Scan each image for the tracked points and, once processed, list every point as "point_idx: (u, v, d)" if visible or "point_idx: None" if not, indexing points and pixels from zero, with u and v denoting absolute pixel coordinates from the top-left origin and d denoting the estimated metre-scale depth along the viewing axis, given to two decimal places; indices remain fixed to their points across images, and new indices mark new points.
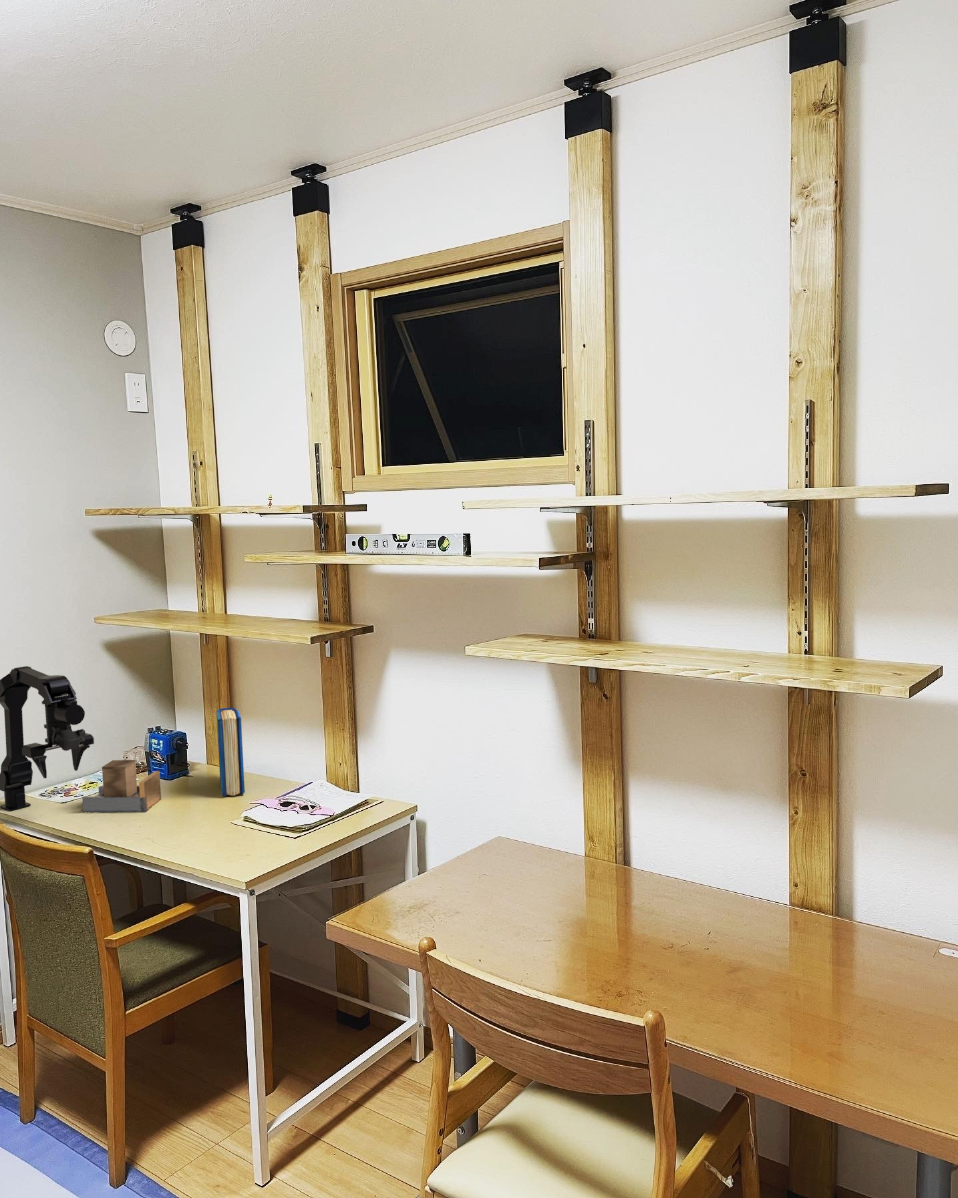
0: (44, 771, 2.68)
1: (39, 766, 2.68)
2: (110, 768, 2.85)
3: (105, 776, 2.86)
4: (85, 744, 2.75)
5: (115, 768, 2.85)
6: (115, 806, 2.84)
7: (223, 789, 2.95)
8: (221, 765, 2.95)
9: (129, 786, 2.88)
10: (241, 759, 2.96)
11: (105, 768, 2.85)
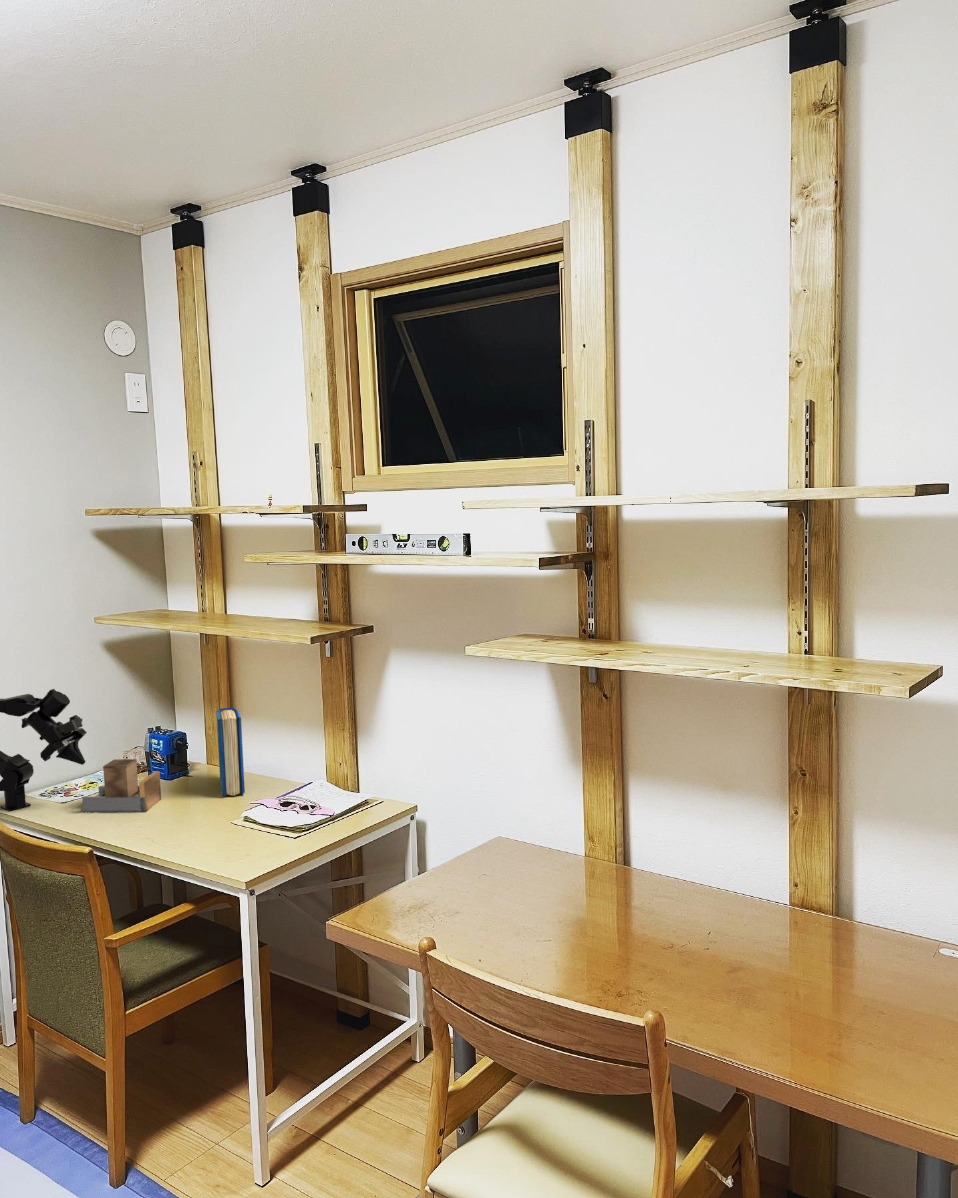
0: (79, 756, 2.88)
1: (72, 757, 2.88)
2: (111, 767, 2.86)
3: (106, 775, 2.86)
4: (82, 733, 2.95)
5: (116, 767, 2.86)
6: (115, 806, 2.84)
7: (223, 789, 2.95)
8: (221, 765, 2.95)
9: (130, 785, 2.89)
10: (241, 759, 2.96)
11: (106, 767, 2.86)
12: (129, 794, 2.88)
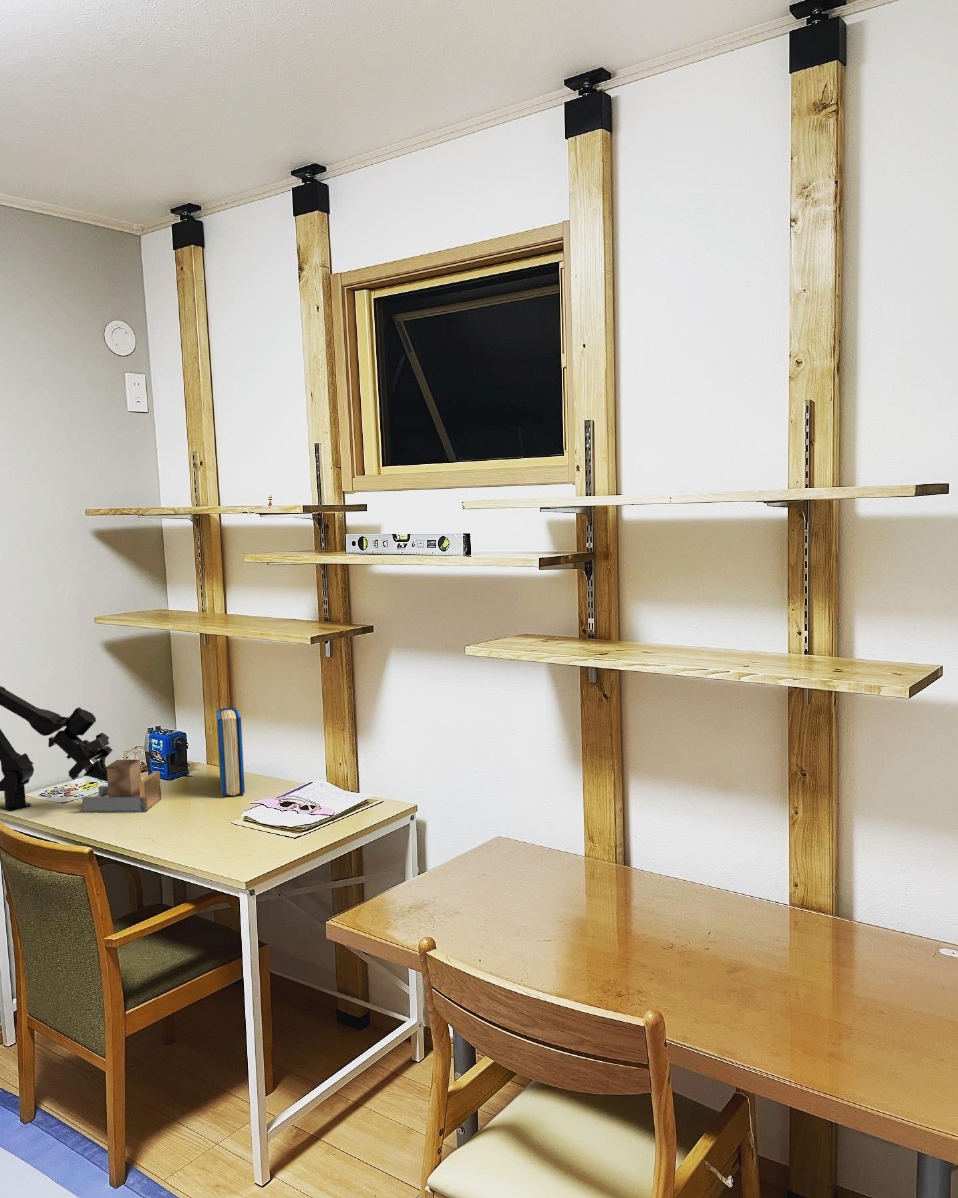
0: None
1: (100, 775, 2.88)
2: (115, 768, 2.85)
3: (110, 776, 2.86)
4: (108, 751, 2.95)
5: (120, 768, 2.85)
6: (115, 806, 2.84)
7: (223, 789, 2.95)
8: (221, 765, 2.95)
9: (133, 785, 2.88)
10: (241, 759, 2.96)
11: (110, 768, 2.86)
12: (132, 794, 2.87)
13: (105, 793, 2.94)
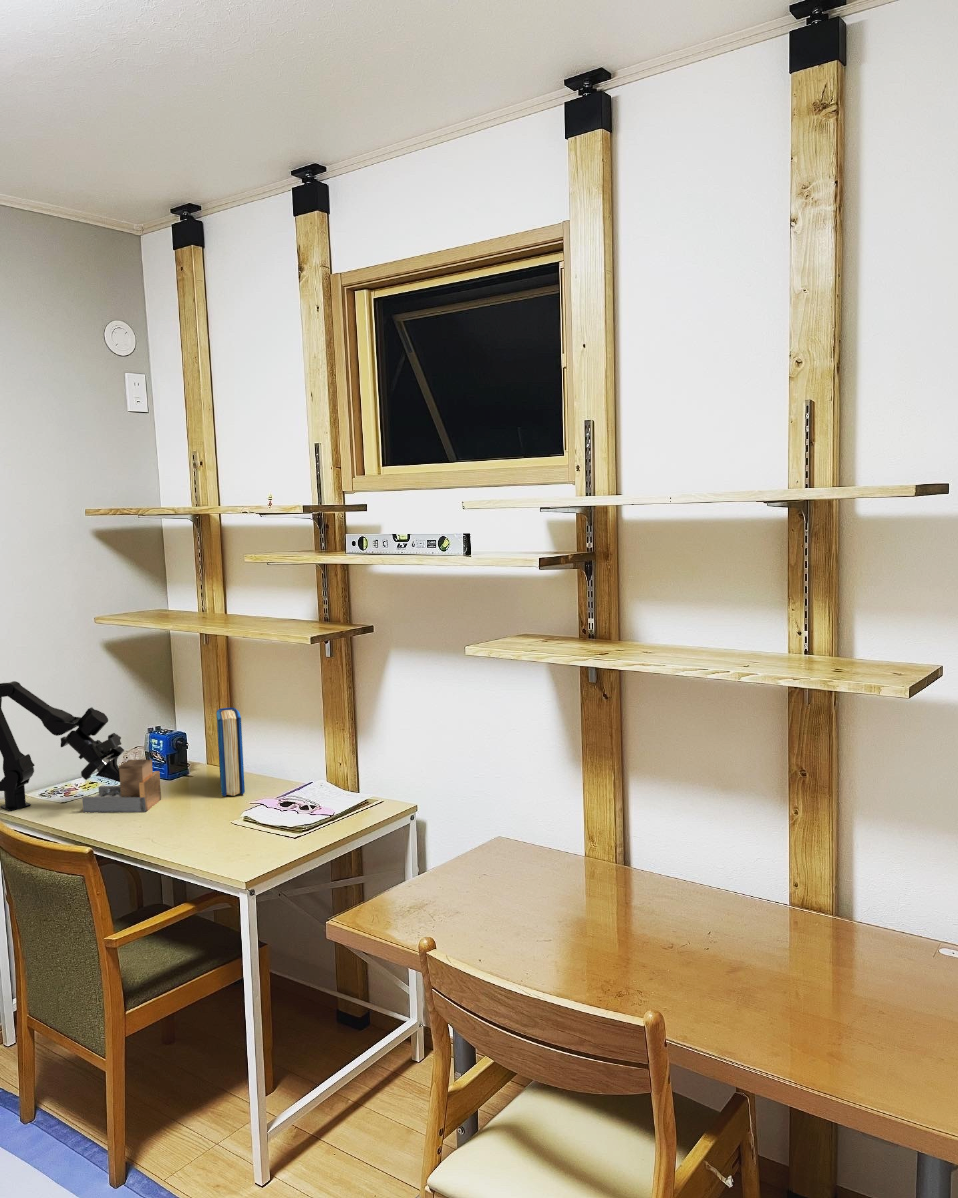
0: (119, 774, 2.88)
1: (112, 775, 2.88)
2: (127, 767, 2.85)
3: (122, 775, 2.86)
4: (120, 751, 2.95)
5: (132, 767, 2.85)
6: (115, 806, 2.84)
7: (223, 789, 2.95)
8: (221, 765, 2.95)
9: None
10: (241, 759, 2.96)
11: (122, 767, 2.85)
12: None
13: (105, 793, 2.94)
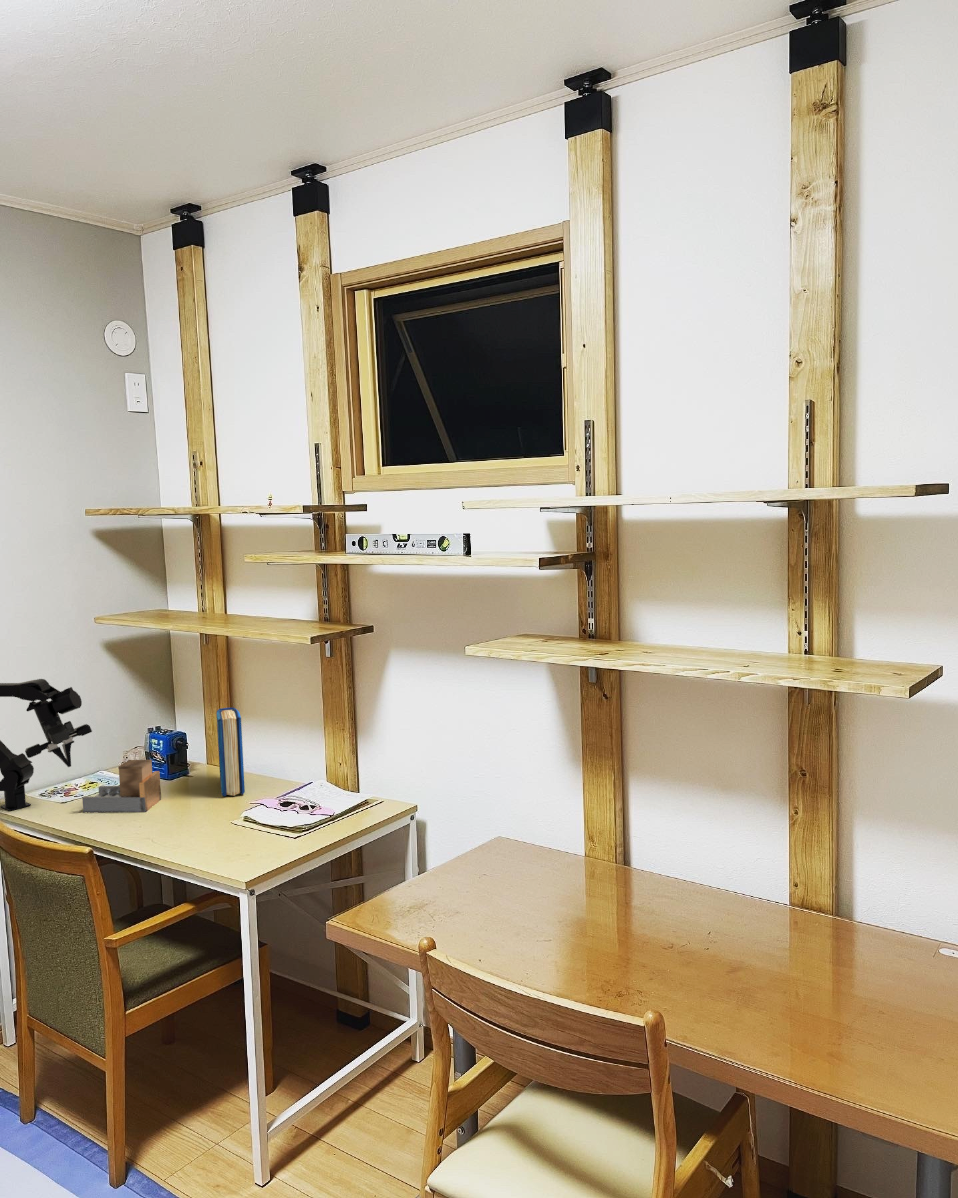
0: (65, 760, 2.88)
1: (60, 757, 2.89)
2: (127, 768, 2.85)
3: (122, 776, 2.85)
4: (82, 734, 2.90)
5: (132, 768, 2.85)
6: (115, 806, 2.84)
7: (223, 789, 2.95)
8: (221, 765, 2.95)
9: None
10: (241, 759, 2.96)
11: (122, 768, 2.85)
12: None
13: (105, 793, 2.94)
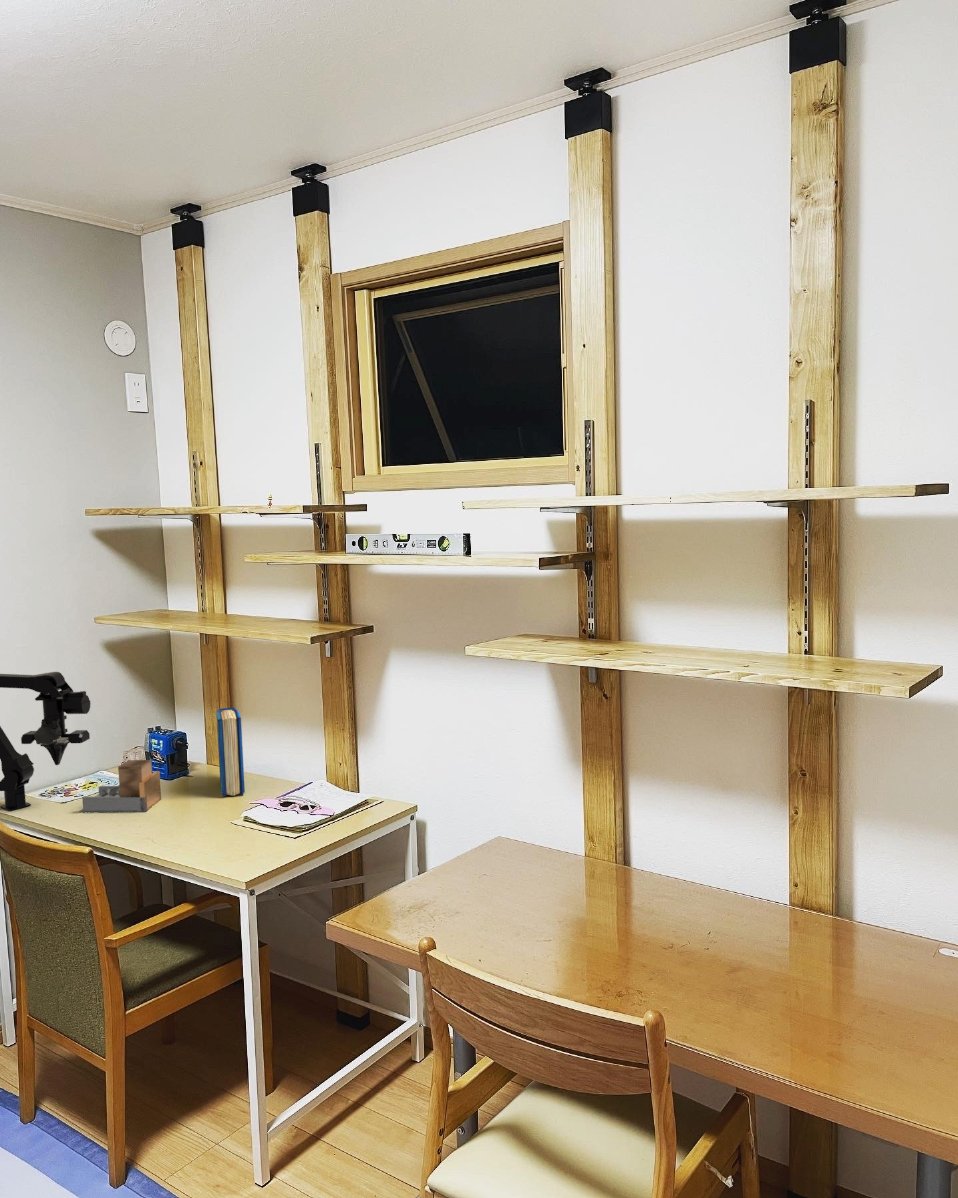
0: (53, 758, 2.89)
1: None
2: (126, 768, 2.85)
3: (121, 776, 2.85)
4: (71, 742, 2.86)
5: (131, 768, 2.85)
6: (115, 806, 2.84)
7: (223, 789, 2.95)
8: (221, 765, 2.95)
9: None
10: (241, 759, 2.96)
11: (121, 768, 2.85)
12: None
13: (105, 793, 2.94)
